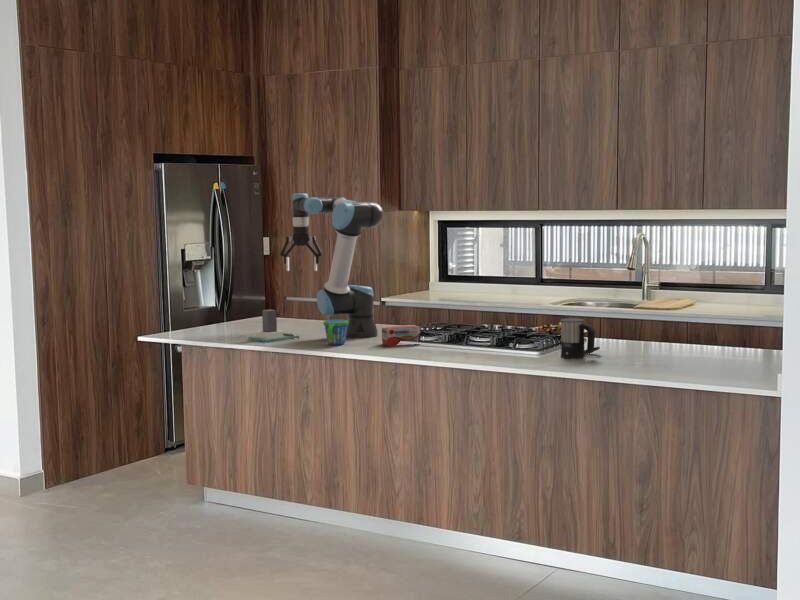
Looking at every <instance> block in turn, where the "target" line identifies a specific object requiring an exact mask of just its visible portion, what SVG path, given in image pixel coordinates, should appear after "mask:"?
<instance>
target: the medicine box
mask: <svg viewBox="0 0 800 600" xmlns="http://www.w3.org/2000/svg"><path fill="white" fill-rule="evenodd" d="M419 333H421V327H420V326H418V325H415V324H410V325H409V324H408V325H406V324H405V325H388V326H387V325H386V326H382V327H381V342H382V345H383V346H386V347H397V346H396V345H397V344H398V343H399V342H400V341H406V340H414V339H417V337H418V334H419Z"/></svg>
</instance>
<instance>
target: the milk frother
mask: <svg viewBox="0 0 800 600" xmlns="http://www.w3.org/2000/svg"><path fill="white" fill-rule="evenodd" d="M584 321H585V319H583V318H563V319H560V323H561V336H560V337H561V338H560V339H561V346H560V347H561V348H560V349H561V350H560V351H561V352H560V353H561V354H560V357H561V358H562V357H563V359H567V358H569V359H571V358H576V359H582V358H585V355H588V354H589V355H591V354H592V353H594V352H596V351H598V350H600V349H601V347H600V346H595V335H596V331H595V329H594V327H593V326H592V325H591V324H588V323H584ZM584 329H585V330H587V332H586V333H587V345H586V346H587V347H586V349H585V332H584ZM590 353H591V354H590Z"/></svg>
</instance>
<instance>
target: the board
mask: <svg viewBox="0 0 800 600" xmlns="http://www.w3.org/2000/svg"><path fill="white" fill-rule="evenodd" d="M294 338H298V339H300V335H297V334H293V332H291V331H290V332H288V331H283V330H278V329H277V332H270V333H267V332H263V330H257V331H256V335H252V336H248V337H247V339H251V340H250V341H254V340H256V341H255V342H259V341H262V342H261V343H265V342H267V343H272V342H271V341H275V342H280V341H279V340H283V341H287V340H286V339H291V340H295V339H294Z"/></svg>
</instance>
